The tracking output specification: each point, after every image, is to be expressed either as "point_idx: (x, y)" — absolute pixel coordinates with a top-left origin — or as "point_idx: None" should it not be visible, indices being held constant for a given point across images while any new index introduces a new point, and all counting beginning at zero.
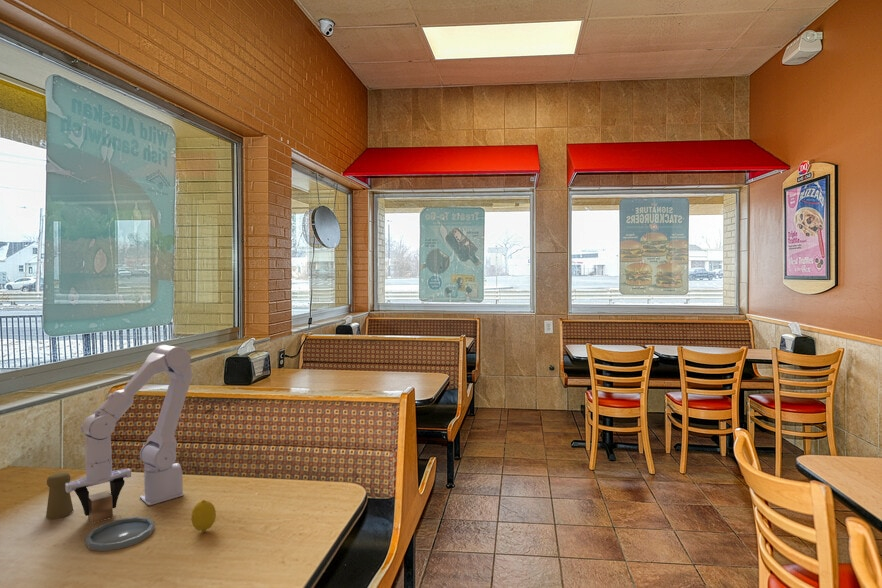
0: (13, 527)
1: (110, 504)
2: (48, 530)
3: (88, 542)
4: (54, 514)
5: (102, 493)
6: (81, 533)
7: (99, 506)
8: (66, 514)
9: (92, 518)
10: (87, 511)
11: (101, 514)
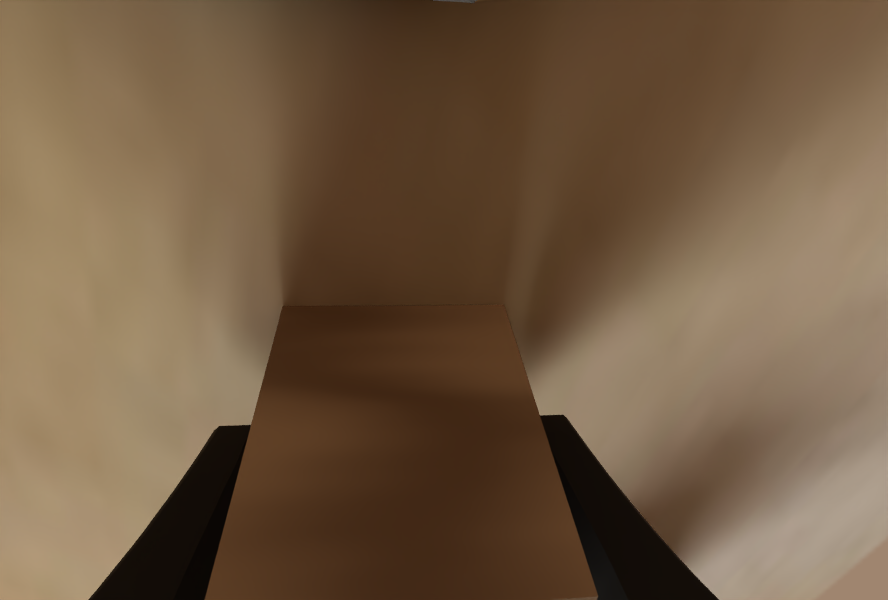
0: (831, 564)
1: (274, 455)
2: (790, 417)
3: None
4: None
5: None
6: (711, 116)
7: (445, 464)
8: None
9: (516, 345)
10: (577, 454)
11: (411, 362)
